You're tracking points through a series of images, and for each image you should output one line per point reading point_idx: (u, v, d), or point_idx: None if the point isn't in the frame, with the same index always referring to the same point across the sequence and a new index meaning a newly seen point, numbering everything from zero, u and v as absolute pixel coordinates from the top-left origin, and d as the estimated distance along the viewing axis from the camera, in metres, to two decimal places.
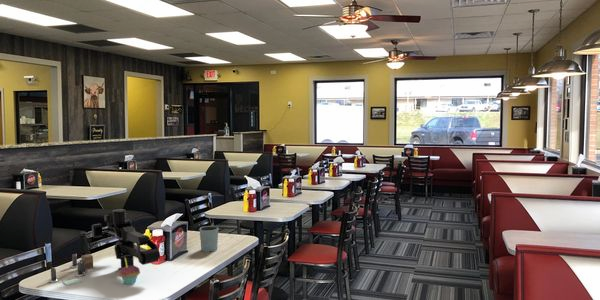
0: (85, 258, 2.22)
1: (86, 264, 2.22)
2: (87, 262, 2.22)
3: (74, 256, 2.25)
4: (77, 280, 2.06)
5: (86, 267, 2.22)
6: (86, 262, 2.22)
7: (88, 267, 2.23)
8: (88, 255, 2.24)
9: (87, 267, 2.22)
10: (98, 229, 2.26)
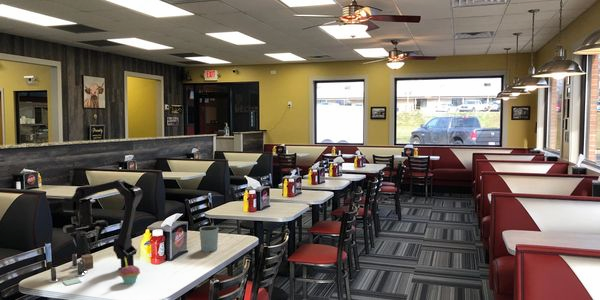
0: (85, 258, 2.22)
1: (86, 264, 2.22)
2: (87, 262, 2.22)
3: (74, 256, 2.25)
4: (77, 280, 2.06)
5: (86, 267, 2.22)
6: (86, 262, 2.22)
7: (88, 267, 2.23)
8: (88, 255, 2.24)
9: (87, 267, 2.22)
10: (68, 225, 2.19)
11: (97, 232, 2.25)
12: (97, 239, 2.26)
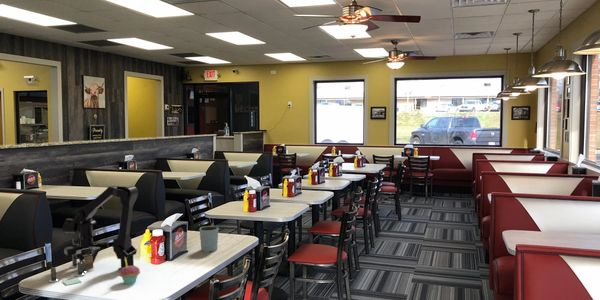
0: (85, 258, 2.22)
1: (86, 264, 2.22)
2: (87, 262, 2.22)
3: (74, 256, 2.25)
4: (77, 280, 2.06)
5: (86, 267, 2.22)
6: (86, 262, 2.22)
7: (88, 267, 2.23)
8: (88, 255, 2.24)
9: (87, 267, 2.22)
10: (69, 247, 2.19)
11: (93, 254, 2.24)
12: (93, 261, 2.25)
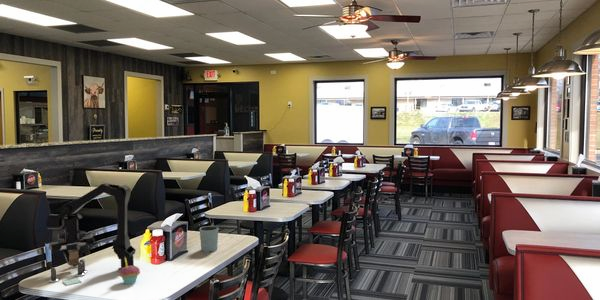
0: (70, 253, 2.17)
1: (71, 260, 2.18)
2: (73, 257, 2.18)
3: None
4: (77, 280, 2.06)
5: (71, 263, 2.18)
6: (71, 258, 2.18)
7: (73, 263, 2.18)
8: (73, 251, 2.19)
9: (72, 263, 2.18)
10: (54, 242, 2.15)
11: (79, 250, 2.20)
12: None
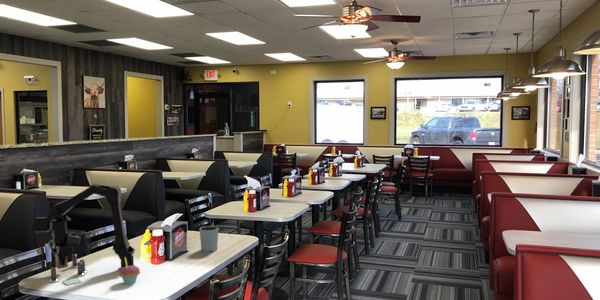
0: (55, 255, 2.15)
1: (56, 262, 2.15)
2: (56, 260, 2.15)
3: (74, 256, 2.25)
4: (77, 280, 2.06)
5: (56, 265, 2.16)
6: (56, 260, 2.15)
7: (56, 266, 2.15)
8: None
9: (56, 265, 2.15)
10: None
11: None
12: (60, 262, 2.13)
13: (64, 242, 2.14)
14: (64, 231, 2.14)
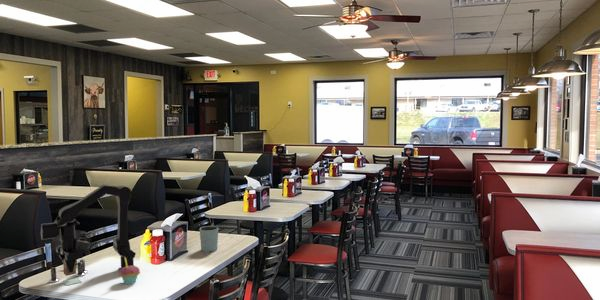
0: (63, 261, 2.06)
1: (64, 268, 2.06)
2: (64, 266, 2.05)
3: None
4: (77, 280, 2.06)
5: (64, 271, 2.06)
6: (64, 266, 2.06)
7: (64, 272, 2.05)
8: None
9: (64, 272, 2.06)
10: None
11: None
12: (68, 268, 2.04)
13: (72, 248, 2.04)
14: (73, 236, 2.04)
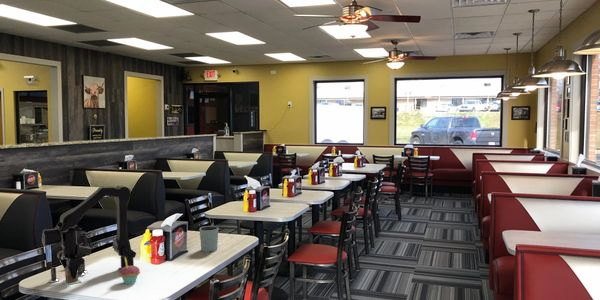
0: (65, 269, 2.04)
1: (65, 276, 2.04)
2: (66, 274, 2.04)
3: None
4: None
5: (66, 279, 2.05)
6: (65, 274, 2.04)
7: (66, 280, 2.04)
8: None
9: (66, 279, 2.04)
10: None
11: None
12: (71, 275, 2.01)
13: (74, 253, 2.03)
14: (74, 242, 2.03)
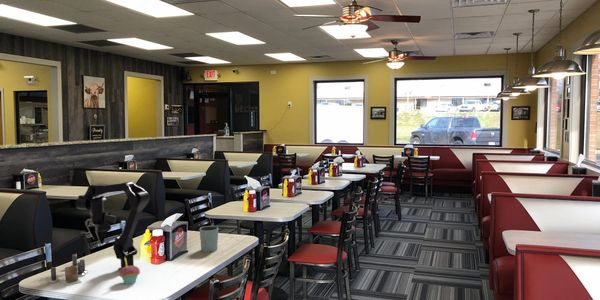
0: (65, 269, 2.04)
1: (65, 276, 2.04)
2: (66, 274, 2.04)
3: (74, 256, 2.25)
4: None
5: (66, 279, 2.05)
6: (65, 274, 2.04)
7: (66, 280, 2.04)
8: (69, 268, 2.04)
9: (66, 279, 2.04)
10: None
11: None
12: (99, 240, 2.21)
13: (101, 220, 2.23)
14: (101, 210, 2.23)
